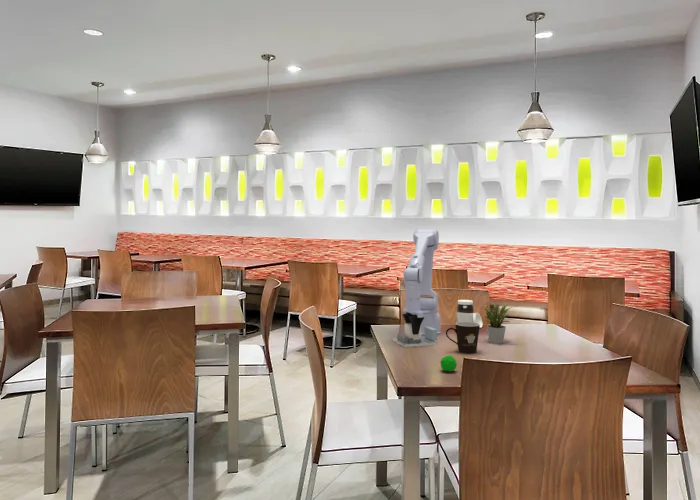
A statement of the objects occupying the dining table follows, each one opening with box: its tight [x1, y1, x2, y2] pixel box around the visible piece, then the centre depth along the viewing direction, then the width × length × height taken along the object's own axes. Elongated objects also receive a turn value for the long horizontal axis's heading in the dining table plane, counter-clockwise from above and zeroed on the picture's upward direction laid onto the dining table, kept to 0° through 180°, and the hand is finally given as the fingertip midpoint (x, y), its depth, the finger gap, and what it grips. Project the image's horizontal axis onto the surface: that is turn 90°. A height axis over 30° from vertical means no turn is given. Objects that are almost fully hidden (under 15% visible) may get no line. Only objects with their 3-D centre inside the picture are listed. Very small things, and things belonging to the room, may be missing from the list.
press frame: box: [392, 333, 439, 348], centre depth 202 cm, size 14×12×3 cm
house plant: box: [482, 302, 518, 345], centre depth 202 cm, size 14×14×16 cm
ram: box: [423, 326, 438, 341], centre depth 204 cm, size 2×7×4 cm, turn 17°
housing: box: [404, 322, 422, 338], centre depth 201 cm, size 5×4×5 cm
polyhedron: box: [439, 355, 457, 373], centre depth 162 cm, size 5×5×5 cm
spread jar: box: [456, 299, 483, 329], centre depth 234 cm, size 12×11×12 cm
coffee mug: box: [445, 322, 481, 355], centre depth 188 cm, size 12×9×10 cm
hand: (412, 333), depth 202 cm, fingers closed on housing, 4 cm apart
